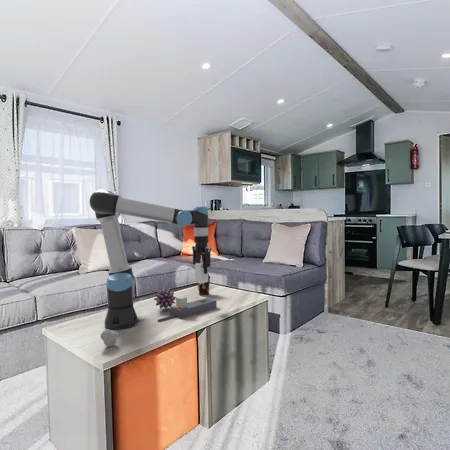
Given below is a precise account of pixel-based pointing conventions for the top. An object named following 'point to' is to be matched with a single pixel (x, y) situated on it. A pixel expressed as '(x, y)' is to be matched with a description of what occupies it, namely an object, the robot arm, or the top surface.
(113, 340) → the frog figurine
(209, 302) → the power strip
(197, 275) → the white rectangular block
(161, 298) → the flower
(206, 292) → the coffee cup
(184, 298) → the block
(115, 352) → the top surface
